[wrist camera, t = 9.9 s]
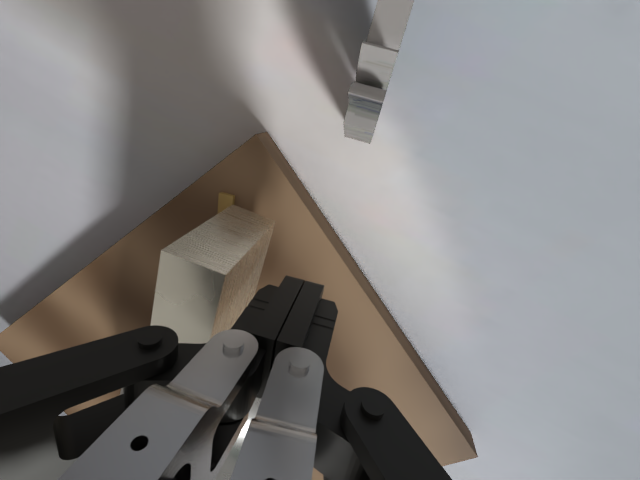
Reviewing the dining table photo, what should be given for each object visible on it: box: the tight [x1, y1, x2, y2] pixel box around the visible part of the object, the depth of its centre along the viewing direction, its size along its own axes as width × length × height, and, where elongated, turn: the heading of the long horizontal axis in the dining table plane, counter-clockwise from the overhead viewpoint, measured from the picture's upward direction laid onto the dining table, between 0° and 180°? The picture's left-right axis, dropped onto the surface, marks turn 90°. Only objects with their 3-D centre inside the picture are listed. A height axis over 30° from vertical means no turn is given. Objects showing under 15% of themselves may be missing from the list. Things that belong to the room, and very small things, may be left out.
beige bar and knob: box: [120, 205, 276, 480], centre depth 16 cm, size 18×9×6 cm, turn 162°
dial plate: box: [0, 132, 478, 480], centre depth 21 cm, size 24×21×2 cm
